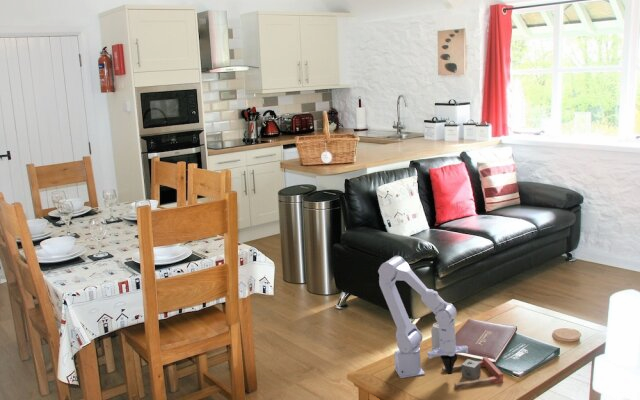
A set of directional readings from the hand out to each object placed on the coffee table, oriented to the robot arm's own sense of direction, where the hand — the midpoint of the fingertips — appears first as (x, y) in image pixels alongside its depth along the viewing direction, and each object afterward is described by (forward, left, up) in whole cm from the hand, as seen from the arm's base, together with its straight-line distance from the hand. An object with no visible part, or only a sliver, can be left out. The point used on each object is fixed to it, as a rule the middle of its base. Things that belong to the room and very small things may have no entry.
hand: (448, 373), depth 221 cm
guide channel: (+8, 0, -3) cm, 8 cm away
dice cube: (+9, 0, -3) cm, 9 cm away
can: (+5, +21, -3) cm, 22 cm away
